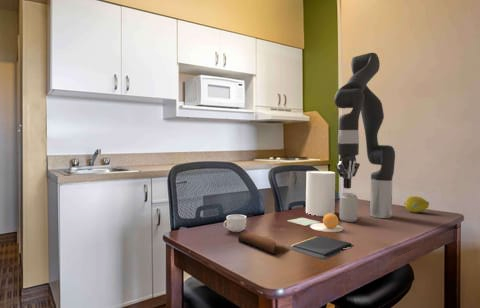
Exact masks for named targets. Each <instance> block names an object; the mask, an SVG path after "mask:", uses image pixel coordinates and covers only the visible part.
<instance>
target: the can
mask: <svg viewBox="0 0 480 308" xmlns="http://www.w3.org/2000/svg"><path fill="white" fill-rule="evenodd" d="M358 203H359V201H358V196H357V193H353V192H342V193H341V195H340V196H339V214H338V215H339V216H338V217H339V218H338V219H340V220H341V221H342V222H345V223H355V222H356V221H357V220H358V208H359V207H358Z"/></svg>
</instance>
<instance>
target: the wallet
mask: <svg viewBox="0 0 480 308" xmlns="http://www.w3.org/2000/svg"><path fill="white" fill-rule="evenodd" d="M352 246H353V247H355V245H354V244H352V243H351V242H347V241H345V240H340V239H336V238H332V237H328V236H324V235H318V236H313V237H310V238H307V239H304V240H301V241H300V242H297V243H294V244H292V245H289V246H286V247H287V248H289V249H290V250H291V251H294V252H297V253H300V254H303V255H306V256H310V257H313V258H317V259H320V260H327V258H328V259H330V258H332V257H334V256H336V255H338V254H340V253H341V252H340V251H342V252H345V251H346V249H343V248H347V247H351V248H353V247H352ZM344 250H345V251H344ZM337 253H338V254H337Z"/></svg>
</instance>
